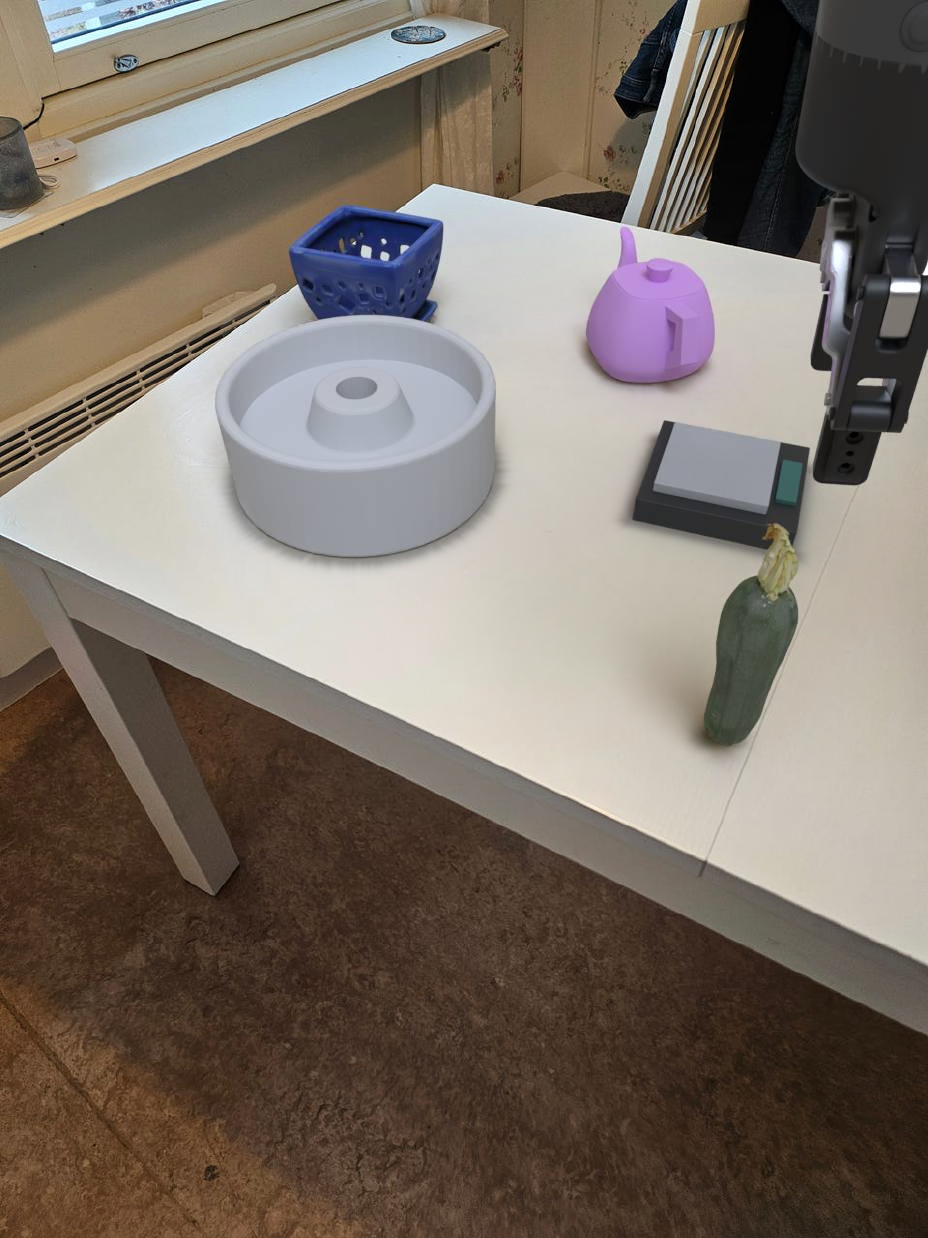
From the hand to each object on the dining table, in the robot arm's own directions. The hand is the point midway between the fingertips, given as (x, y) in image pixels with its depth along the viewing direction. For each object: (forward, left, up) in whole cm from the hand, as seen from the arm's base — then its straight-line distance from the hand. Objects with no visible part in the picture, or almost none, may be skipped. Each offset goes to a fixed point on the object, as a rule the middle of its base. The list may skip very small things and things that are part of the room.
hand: (834, 419), depth 40 cm
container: (+37, -23, -29) cm, 52 cm away
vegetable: (0, -2, -29) cm, 29 cm away
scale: (+4, -31, -29) cm, 42 cm away
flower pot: (+47, -48, -29) cm, 73 cm away
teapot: (+16, -53, -29) cm, 62 cm away
